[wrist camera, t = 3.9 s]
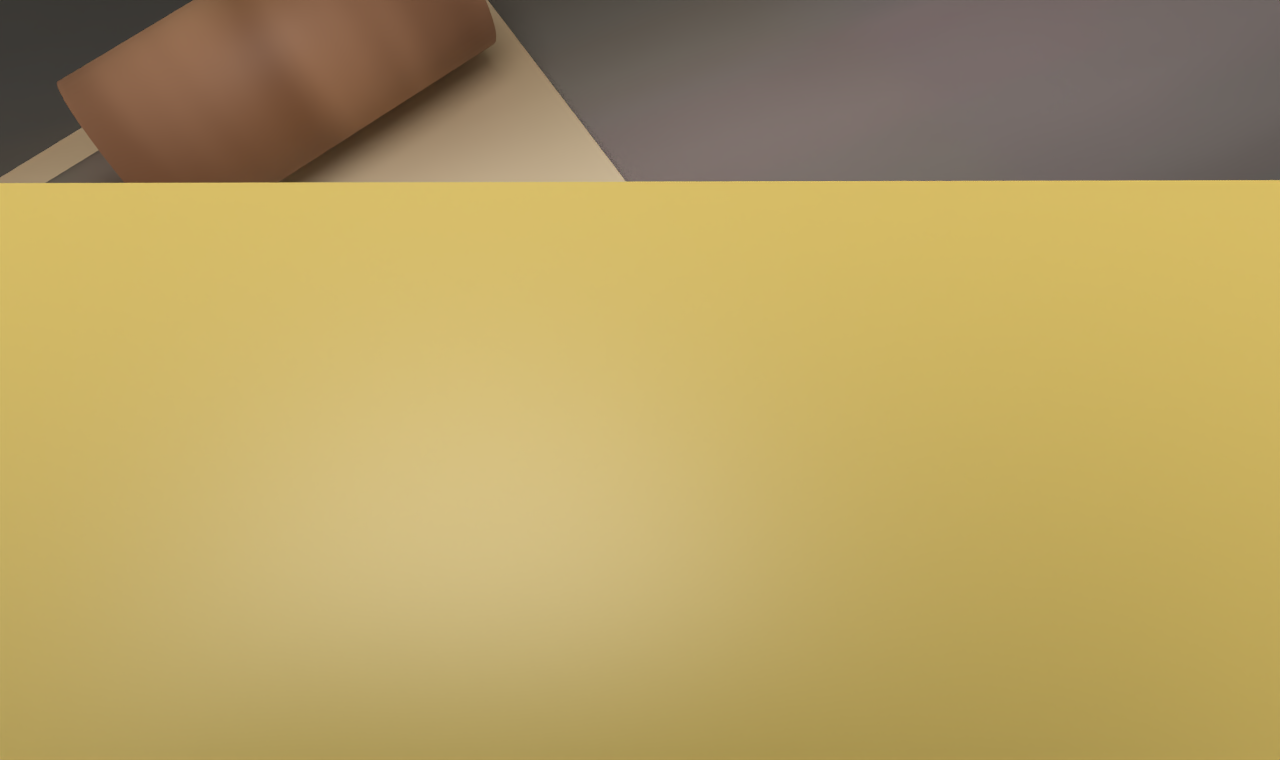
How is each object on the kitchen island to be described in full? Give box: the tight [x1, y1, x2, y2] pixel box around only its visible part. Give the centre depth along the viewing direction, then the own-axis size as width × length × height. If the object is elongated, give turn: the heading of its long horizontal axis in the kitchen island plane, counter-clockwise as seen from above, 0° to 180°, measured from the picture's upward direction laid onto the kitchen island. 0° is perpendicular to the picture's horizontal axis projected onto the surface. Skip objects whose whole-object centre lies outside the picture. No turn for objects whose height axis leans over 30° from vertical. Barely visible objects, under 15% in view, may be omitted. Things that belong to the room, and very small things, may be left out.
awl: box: [46, 0, 496, 183], centre depth 13 cm, size 2×10×2 cm, turn 126°
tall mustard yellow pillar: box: [0, 180, 1280, 760], centre depth 8 cm, size 5×5×12 cm
